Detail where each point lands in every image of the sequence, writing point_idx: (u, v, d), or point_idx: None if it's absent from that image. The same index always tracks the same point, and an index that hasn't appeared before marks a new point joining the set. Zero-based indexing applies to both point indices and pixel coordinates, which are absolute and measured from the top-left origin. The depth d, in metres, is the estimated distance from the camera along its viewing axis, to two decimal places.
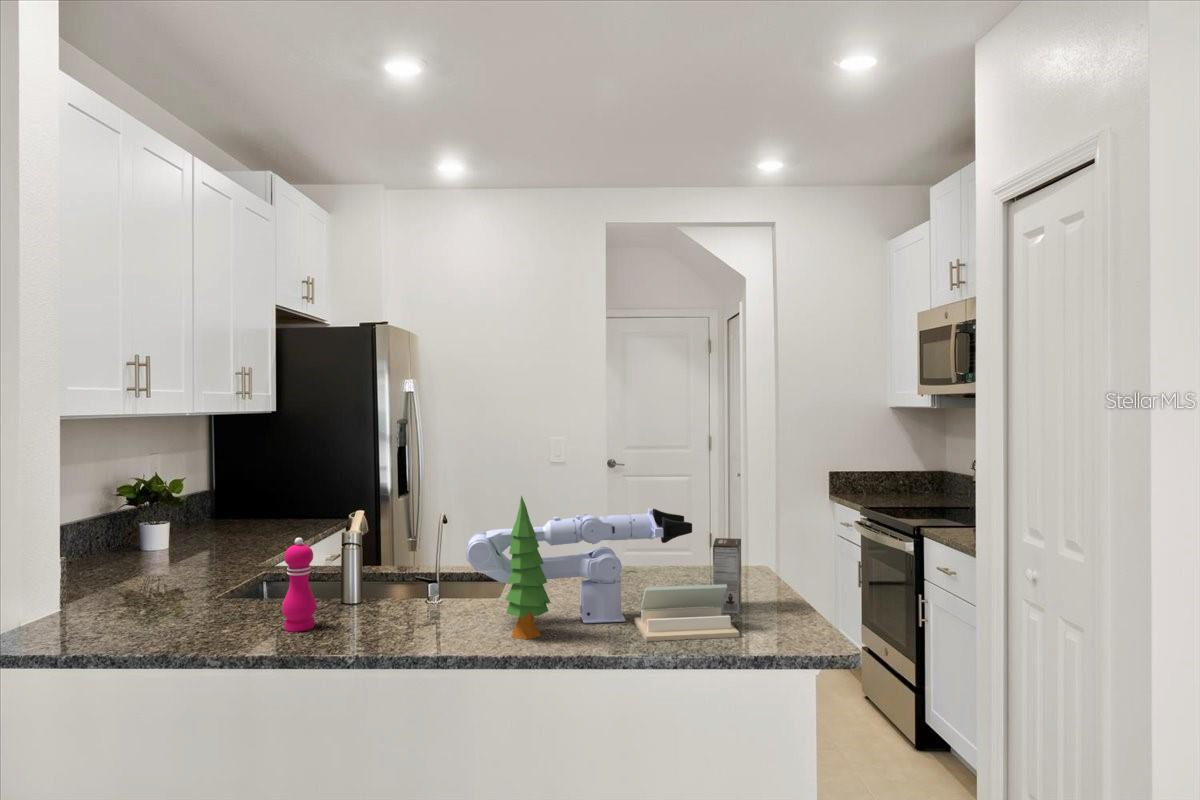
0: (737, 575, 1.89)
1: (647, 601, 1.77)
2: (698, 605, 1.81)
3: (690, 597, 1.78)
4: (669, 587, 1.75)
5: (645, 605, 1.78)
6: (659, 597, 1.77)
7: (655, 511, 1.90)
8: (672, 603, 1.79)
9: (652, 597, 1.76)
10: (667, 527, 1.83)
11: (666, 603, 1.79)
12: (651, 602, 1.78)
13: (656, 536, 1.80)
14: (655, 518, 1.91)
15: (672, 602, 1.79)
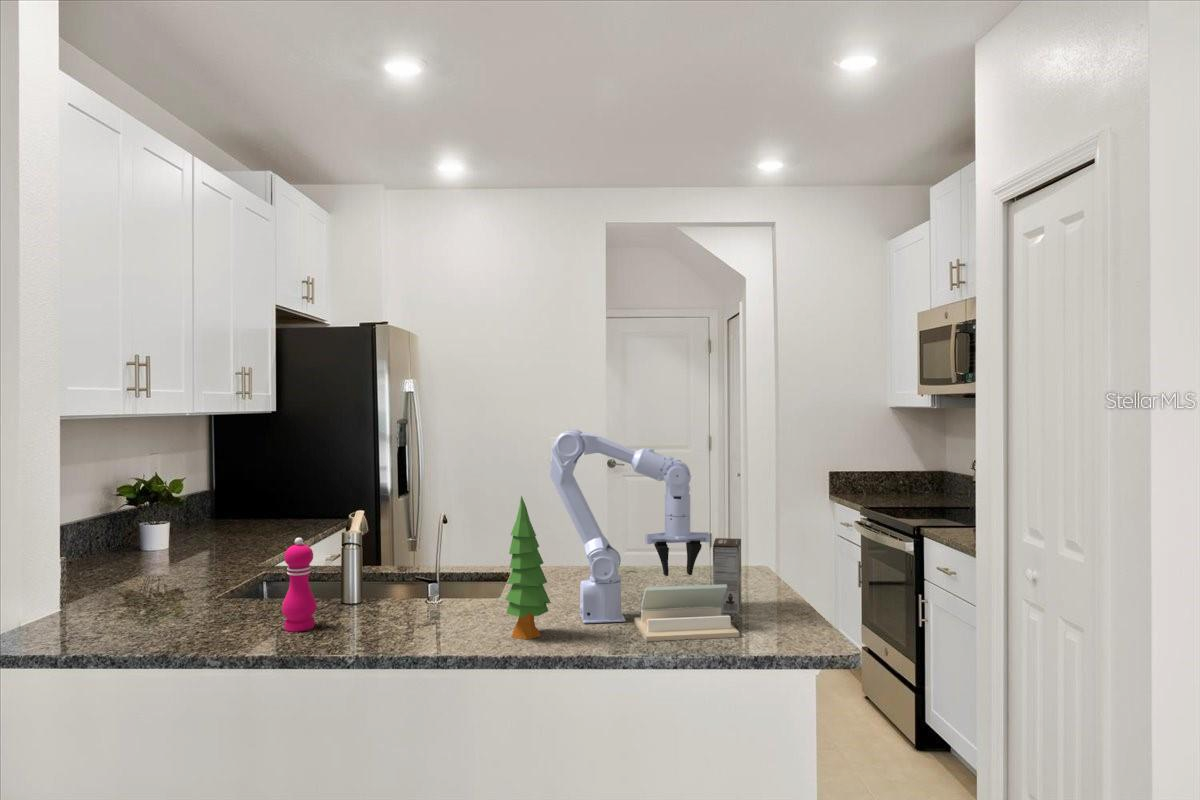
0: (737, 575, 1.89)
1: (647, 601, 1.77)
2: (698, 605, 1.81)
3: (690, 597, 1.78)
4: (669, 587, 1.75)
5: (645, 605, 1.78)
6: (659, 597, 1.77)
7: (691, 546, 1.82)
8: (672, 603, 1.79)
9: (652, 597, 1.76)
10: None
11: (666, 603, 1.79)
12: (651, 602, 1.78)
13: (645, 535, 1.83)
14: (689, 544, 1.83)
15: (672, 602, 1.79)
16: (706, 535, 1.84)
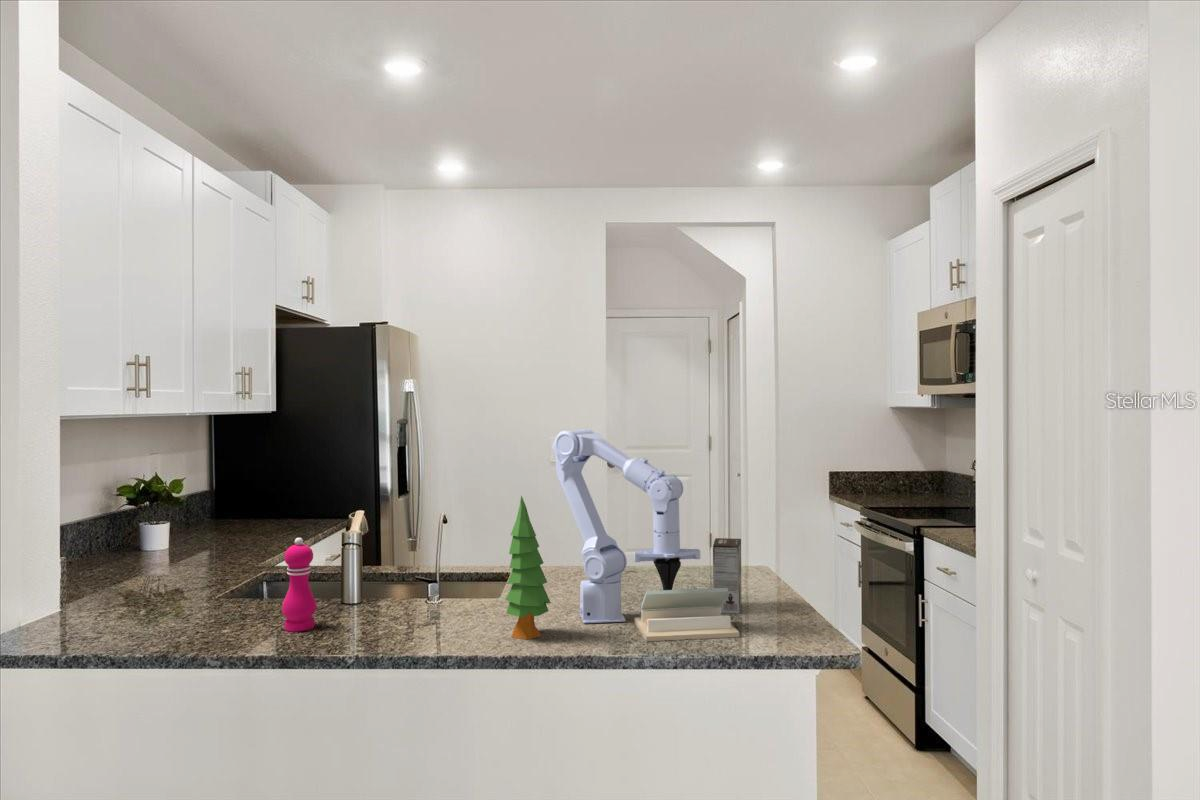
0: (737, 575, 1.89)
1: (647, 603, 1.77)
2: (698, 605, 1.81)
3: (690, 599, 1.78)
4: (670, 591, 1.74)
5: (646, 606, 1.78)
6: (659, 599, 1.76)
7: (670, 564, 1.75)
8: (672, 604, 1.79)
9: (652, 599, 1.76)
10: None
11: (666, 604, 1.79)
12: (651, 603, 1.78)
13: (633, 553, 1.77)
14: (668, 562, 1.76)
15: (672, 603, 1.79)
16: (696, 552, 1.77)
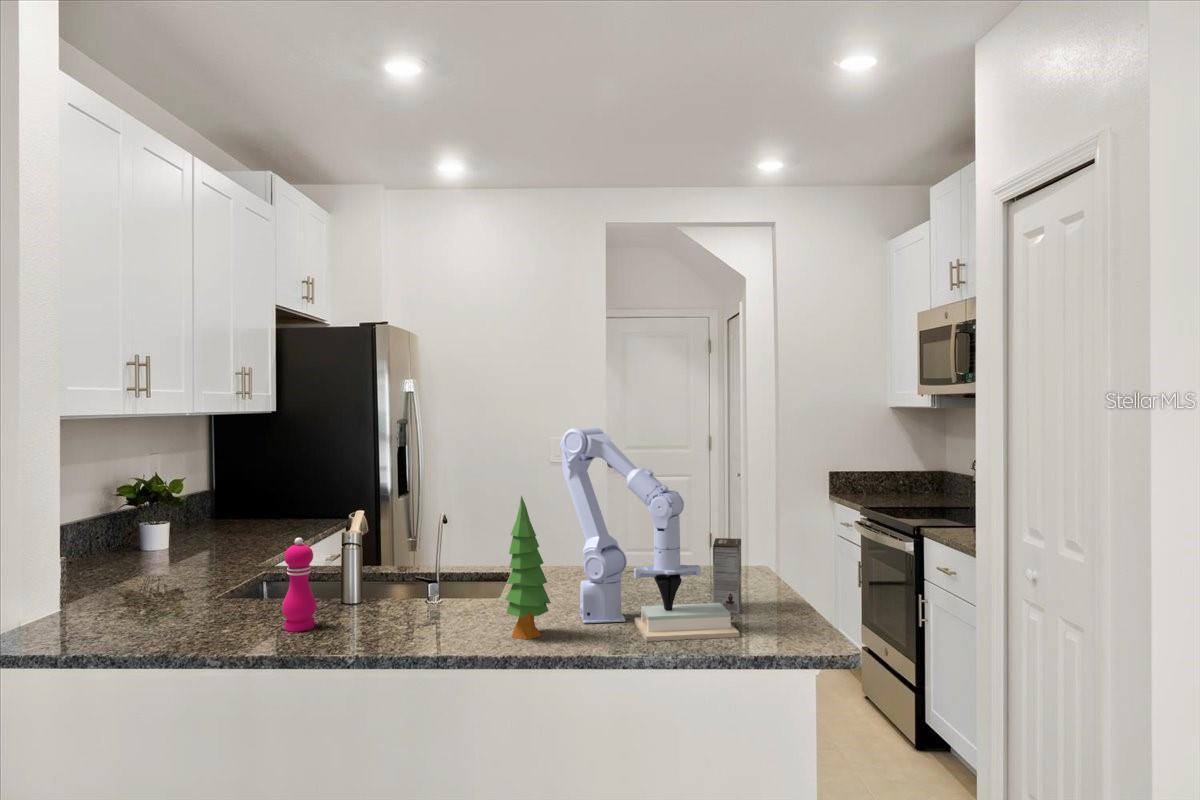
0: (737, 575, 1.89)
1: None
2: None
3: None
4: (672, 616, 1.73)
5: None
6: None
7: (670, 580, 1.75)
8: None
9: None
10: None
11: None
12: None
13: (634, 569, 1.77)
14: (669, 578, 1.76)
15: None
16: (697, 568, 1.77)
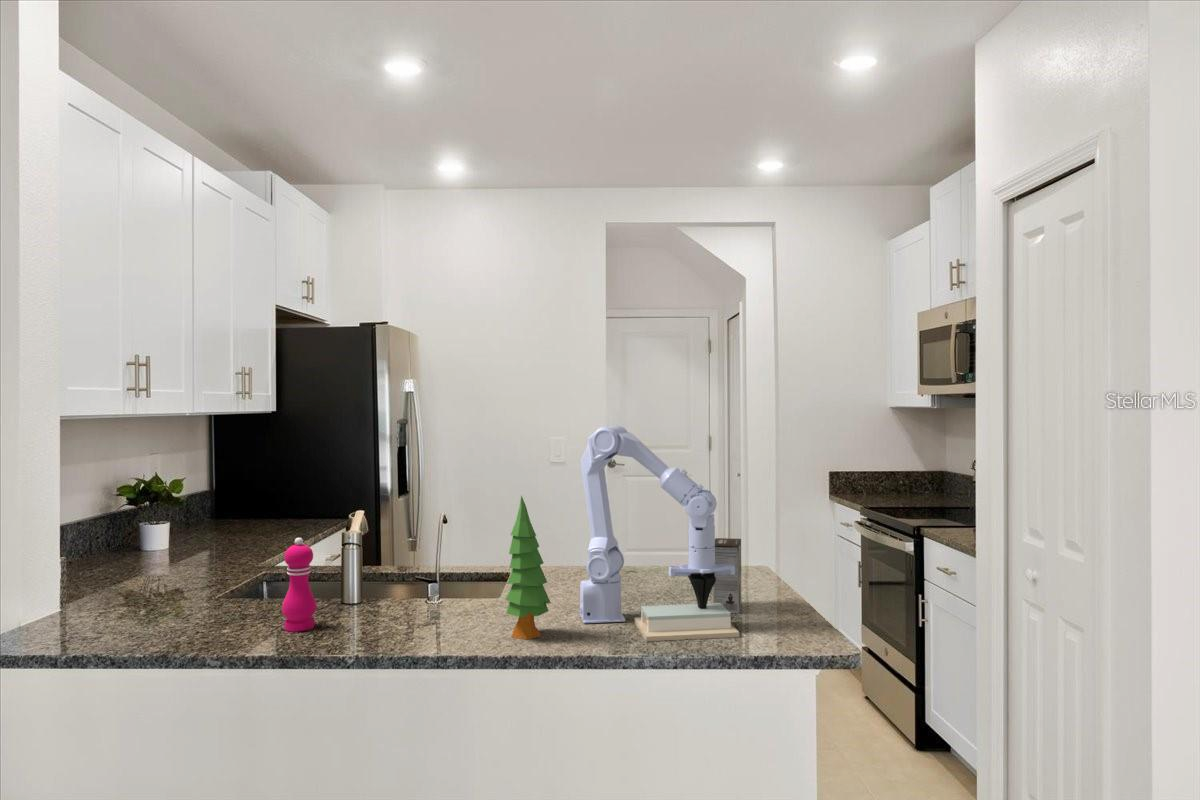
0: (737, 575, 1.89)
1: None
2: None
3: None
4: (672, 616, 1.73)
5: None
6: None
7: (705, 579, 1.76)
8: None
9: None
10: None
11: None
12: None
13: None
14: (703, 577, 1.78)
15: None
16: (731, 567, 1.78)
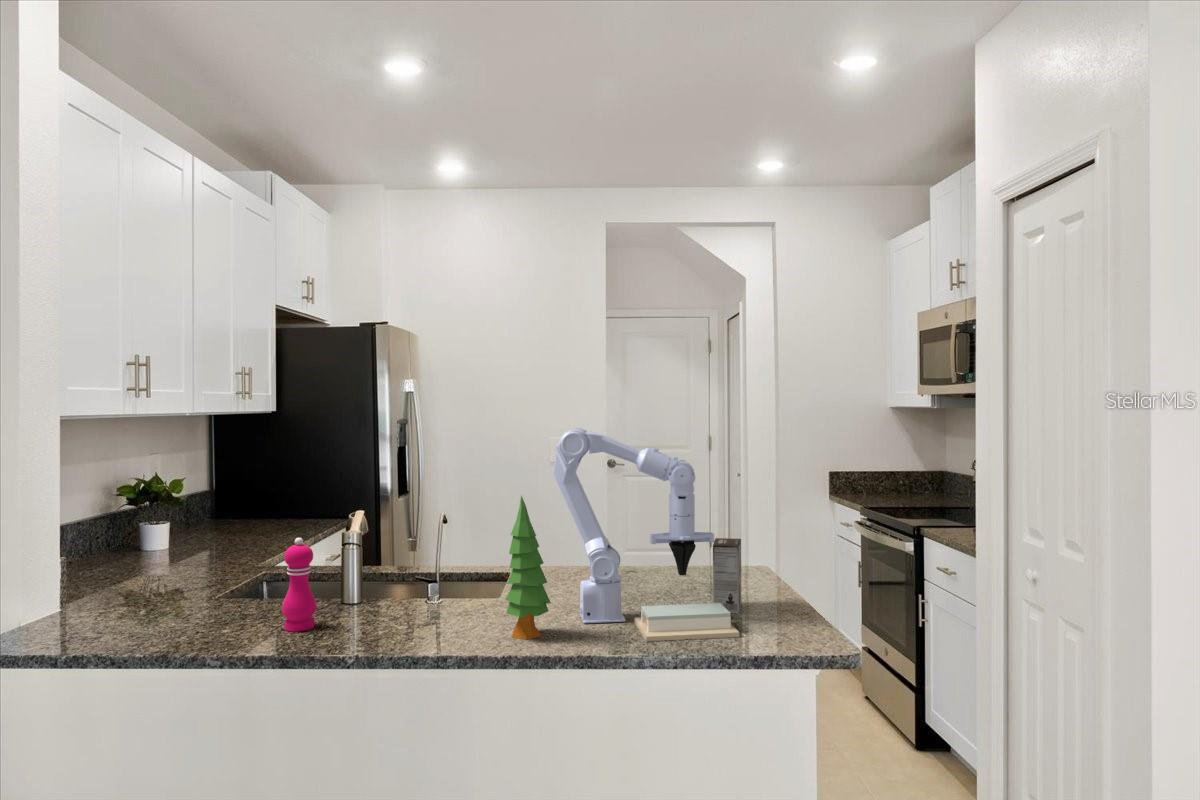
0: (737, 575, 1.89)
1: None
2: None
3: None
4: (672, 616, 1.73)
5: None
6: None
7: (685, 546, 1.81)
8: None
9: None
10: None
11: None
12: None
13: None
14: (683, 544, 1.83)
15: None
16: (710, 535, 1.84)
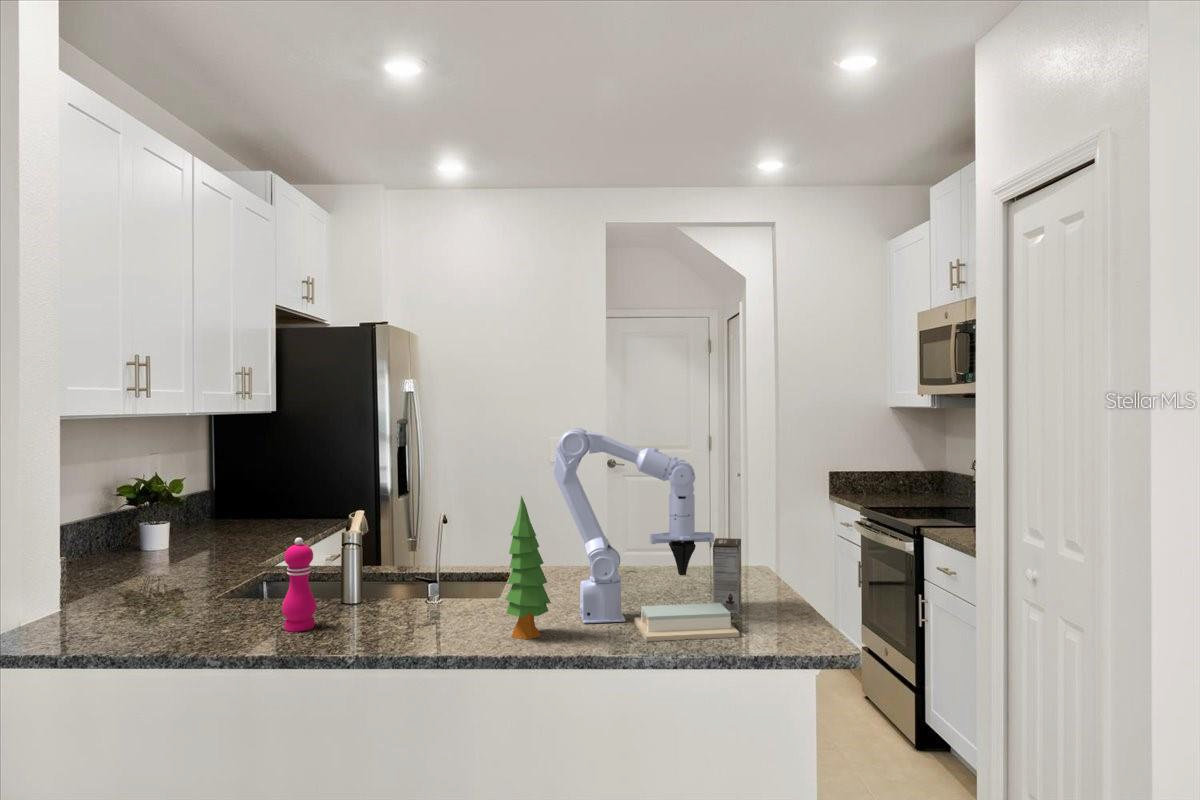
0: (737, 575, 1.89)
1: None
2: None
3: None
4: (672, 616, 1.73)
5: None
6: None
7: (685, 546, 1.81)
8: None
9: None
10: None
11: None
12: None
13: None
14: (683, 544, 1.83)
15: None
16: (710, 535, 1.84)
